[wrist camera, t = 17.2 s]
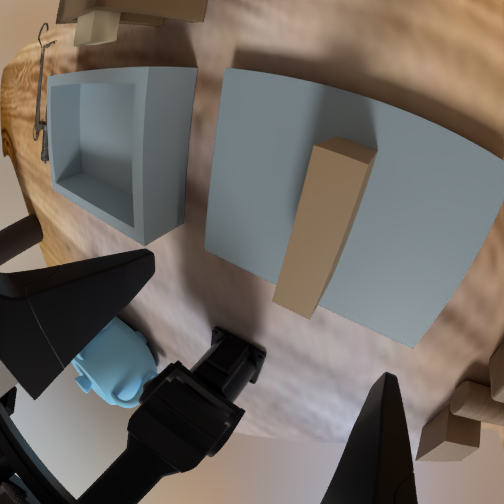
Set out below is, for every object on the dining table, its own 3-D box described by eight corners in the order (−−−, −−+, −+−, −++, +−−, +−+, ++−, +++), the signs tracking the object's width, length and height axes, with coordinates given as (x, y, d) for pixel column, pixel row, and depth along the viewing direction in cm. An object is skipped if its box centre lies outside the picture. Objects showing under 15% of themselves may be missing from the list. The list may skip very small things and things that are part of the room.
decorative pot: (141, 371, 54) (98, 412, 43) (95, 309, 51) (45, 347, 40) (182, 376, 43) (129, 432, 33) (123, 296, 40) (56, 348, 30)
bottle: (45, 245, 54) (-21, 287, 39) (33, 229, 55) (-30, 267, 40) (41, 224, 49) (-31, 267, 34) (30, 208, 50) (-38, 246, 35)
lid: (414, 329, 20) (404, 396, 15) (218, 238, 26) (167, 276, 21) (504, 161, 11) (548, 191, 6) (242, 69, 17) (176, 63, 12)
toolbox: (183, 223, 26) (101, 273, 19) (84, 176, 32) (22, 203, 25) (211, -11, 14) (107, -39, 7) (90, 18, 20) (17, 23, 13)
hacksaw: (51, 164, 37) (44, 167, 36) (32, 146, 40) (26, 148, 38) (65, 20, 22) (56, 20, 21) (43, 23, 25) (36, 23, 23)
